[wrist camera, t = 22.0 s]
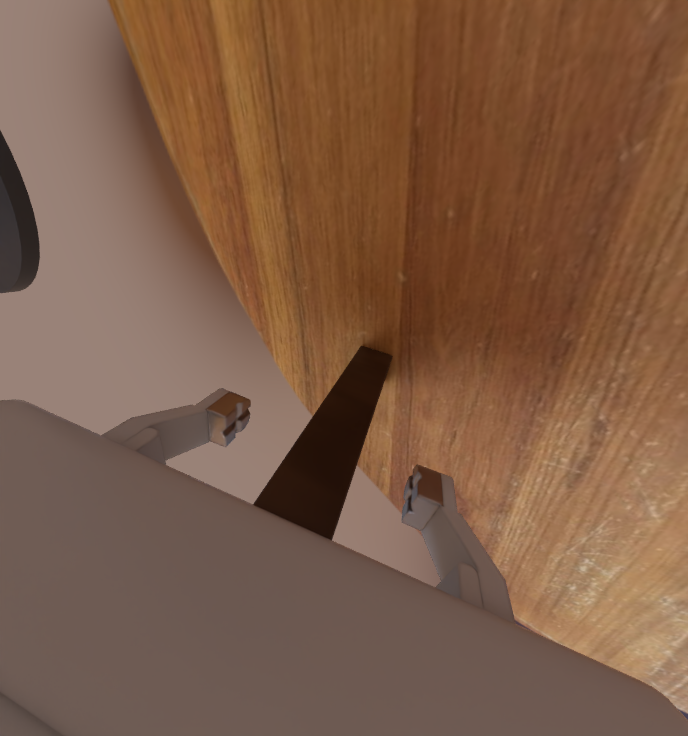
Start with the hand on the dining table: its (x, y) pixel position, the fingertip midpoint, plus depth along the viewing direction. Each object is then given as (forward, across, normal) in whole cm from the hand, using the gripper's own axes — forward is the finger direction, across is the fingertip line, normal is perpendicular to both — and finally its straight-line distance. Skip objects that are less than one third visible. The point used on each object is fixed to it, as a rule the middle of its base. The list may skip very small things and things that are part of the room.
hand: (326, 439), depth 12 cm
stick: (+8, -1, 0) cm, 8 cm away
